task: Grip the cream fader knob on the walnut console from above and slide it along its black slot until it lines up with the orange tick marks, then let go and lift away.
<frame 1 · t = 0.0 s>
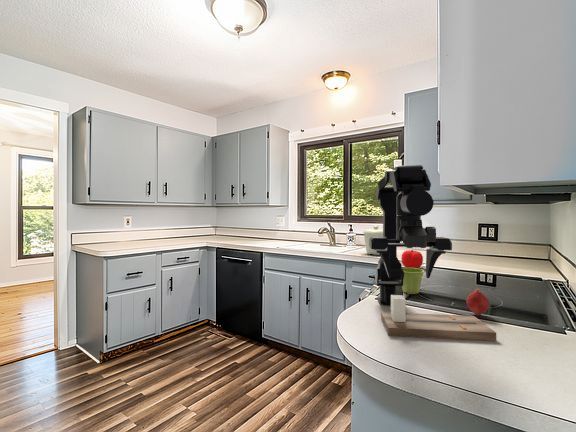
hand: (408, 277, 77), 15 cm above the table, tool pointing down, fingers open, 9 cm apart
fader knob: (397, 308, 83), point 5 cm above the table, slide at 0.0 cm
plant pot: (411, 292, 119), on the table
tomato: (412, 268, 168), on the table
canister: (376, 254, 222), on the table
fader console: (433, 328, 82), on the table
onion: (477, 315, 92), on the table
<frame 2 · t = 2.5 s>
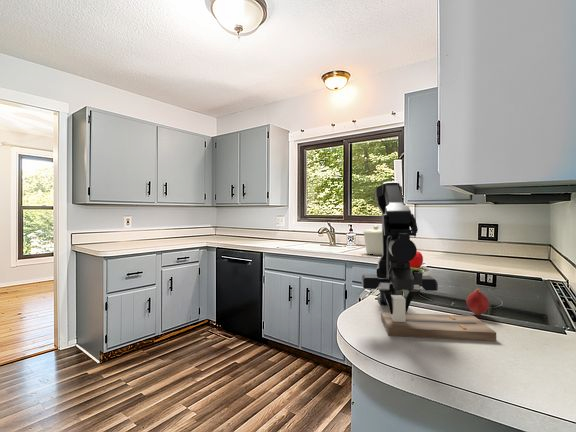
hand: (397, 314, 83), 4 cm above the table, tool pointing down, fingers closed on fader knob, 3 cm apart
fader knob: (398, 308, 83), point 5 cm above the table, slide at 0.0 cm, touching gripper
everything else where it was.
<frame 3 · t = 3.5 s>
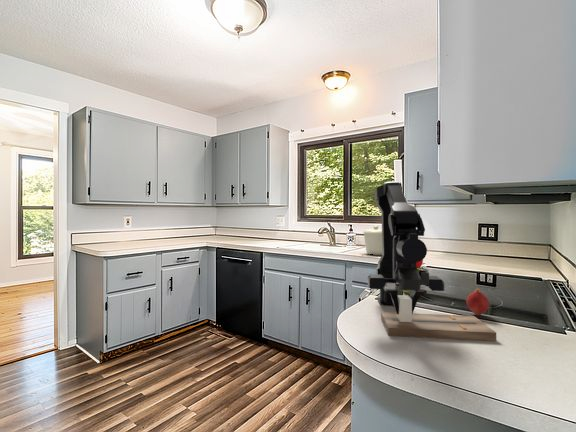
hand: (404, 314, 83), 4 cm above the table, tool pointing down, fingers closed on fader knob, 3 cm apart
fader knob: (404, 308, 83), point 5 cm above the table, slide at 1.6 cm, touching gripper
everything else where it was.
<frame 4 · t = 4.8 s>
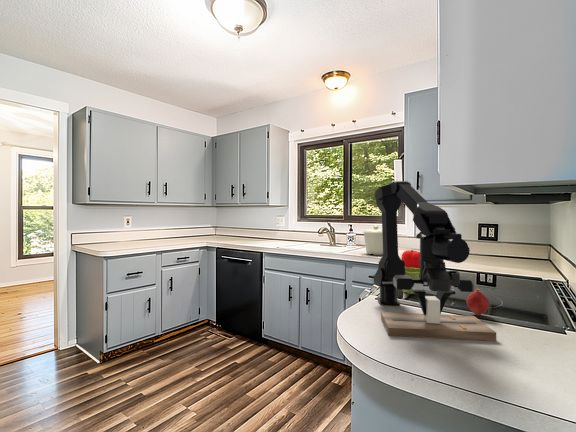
hand: (431, 315, 82), 4 cm above the table, tool pointing down, fingers closed on fader knob, 3 cm apart
fader knob: (431, 309, 82), point 5 cm above the table, slide at 8.6 cm, touching gripper
everything else where it was.
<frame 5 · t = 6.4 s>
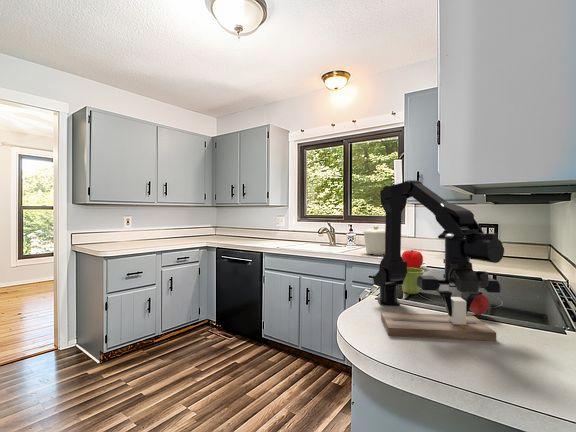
hand: (456, 316, 81), 4 cm above the table, tool pointing down, fingers closed on fader knob, 3 cm apart
fader knob: (456, 310, 81), point 5 cm above the table, slide at 14.9 cm, touching gripper
everything else where it was.
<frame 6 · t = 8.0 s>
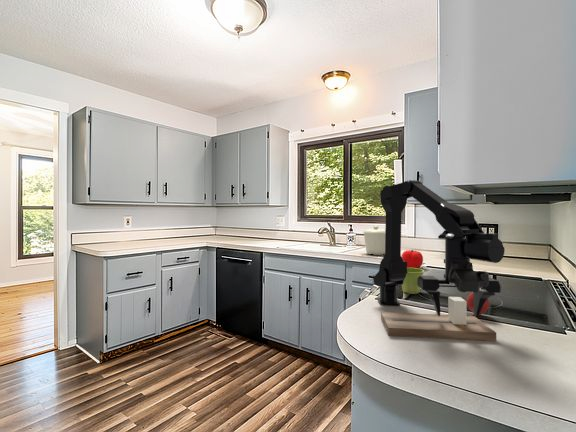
hand: (457, 316, 81), 4 cm above the table, tool pointing down, fingers open, 9 cm apart
fader knob: (457, 310, 81), point 5 cm above the table, slide at 14.9 cm
everything else where it was.
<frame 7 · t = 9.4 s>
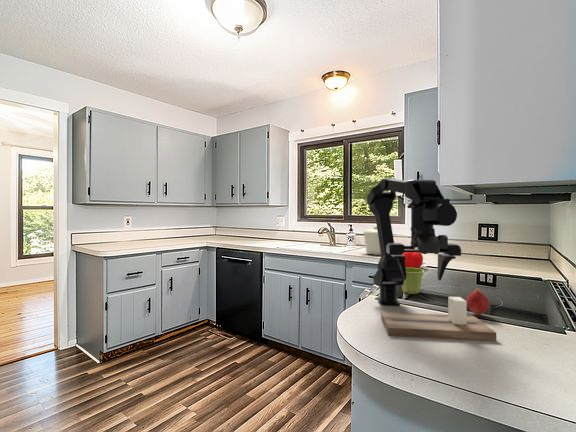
hand: (422, 279, 86), 12 cm above the table, tool pointing down, fingers open, 9 cm apart
nothing on the table moved.
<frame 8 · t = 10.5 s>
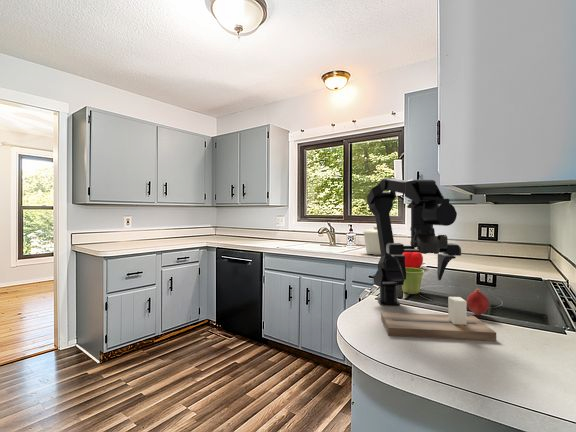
hand: (421, 279, 87), 12 cm above the table, tool pointing down, fingers open, 9 cm apart
nothing on the table moved.
at the end: fader knob slide at 14.9 cm; the gripper is holding nothing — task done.
